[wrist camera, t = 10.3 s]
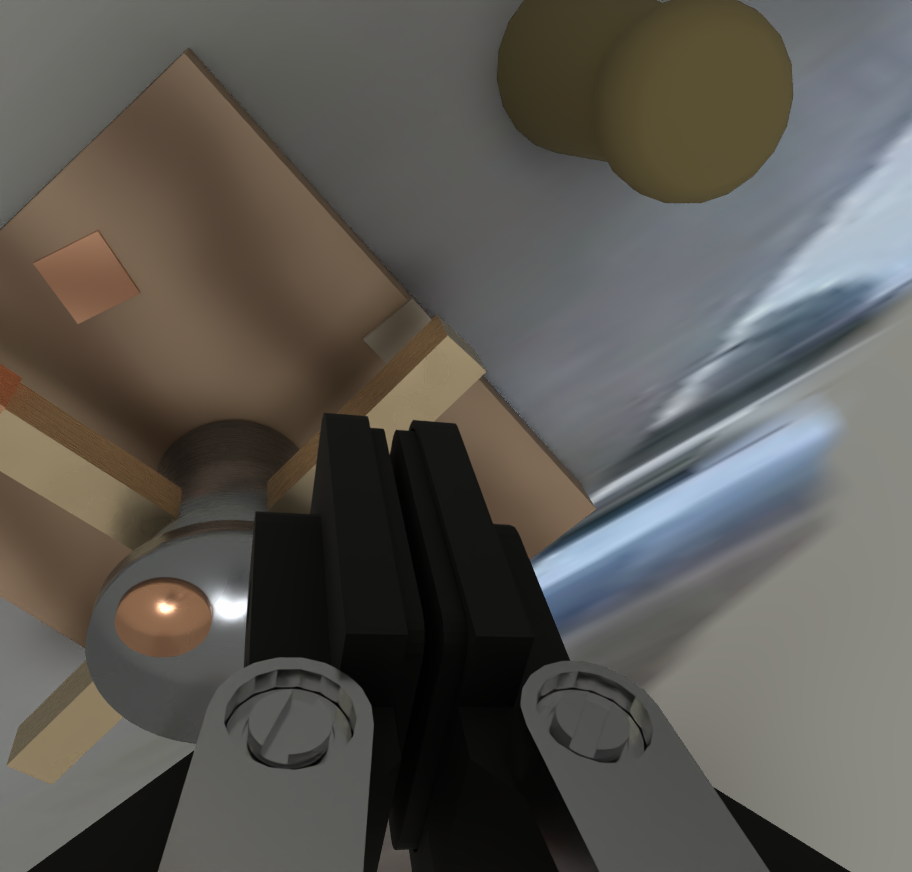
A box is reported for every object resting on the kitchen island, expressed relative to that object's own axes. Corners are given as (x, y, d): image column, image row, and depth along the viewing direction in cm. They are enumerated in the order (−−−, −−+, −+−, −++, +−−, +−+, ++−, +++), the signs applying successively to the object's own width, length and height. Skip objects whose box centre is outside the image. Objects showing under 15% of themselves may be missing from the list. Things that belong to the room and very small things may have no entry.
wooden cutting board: (192, 43, 28) (188, 49, 26) (584, 482, 40) (600, 508, 38) (-205, 427, 31) (-234, 456, 29) (266, 727, 43) (267, 761, 41)
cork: (565, 187, 33) (691, 279, 23) (462, 63, 30) (558, 109, 20) (687, 70, 32) (872, 116, 22) (592, -71, 29) (759, -88, 19)
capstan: (-219, 520, 30) (-394, 727, 22) (181, 51, 26) (147, 91, 18) (265, 762, 41) (267, 962, 33) (608, 457, 36) (711, 602, 28)
